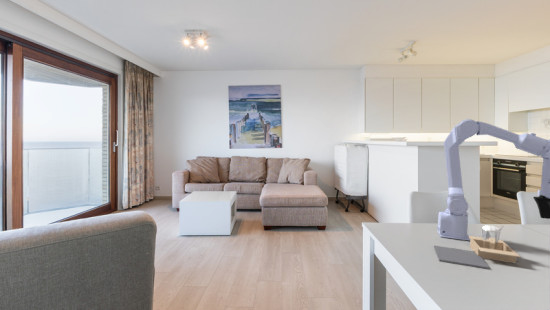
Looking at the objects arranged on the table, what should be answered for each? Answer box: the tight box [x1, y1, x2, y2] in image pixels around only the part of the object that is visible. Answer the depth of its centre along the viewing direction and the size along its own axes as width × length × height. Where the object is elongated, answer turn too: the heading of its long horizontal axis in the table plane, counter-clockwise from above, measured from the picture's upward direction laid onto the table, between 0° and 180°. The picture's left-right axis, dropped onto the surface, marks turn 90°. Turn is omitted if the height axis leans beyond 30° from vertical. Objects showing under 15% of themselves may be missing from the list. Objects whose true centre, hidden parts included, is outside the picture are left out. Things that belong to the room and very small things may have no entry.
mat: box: [433, 245, 490, 270], centre depth 82 cm, size 12×12×1 cm
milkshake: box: [481, 224, 504, 250], centre depth 84 cm, size 5×5×10 cm
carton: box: [468, 235, 521, 264], centre depth 84 cm, size 9×14×3 cm, turn 156°
